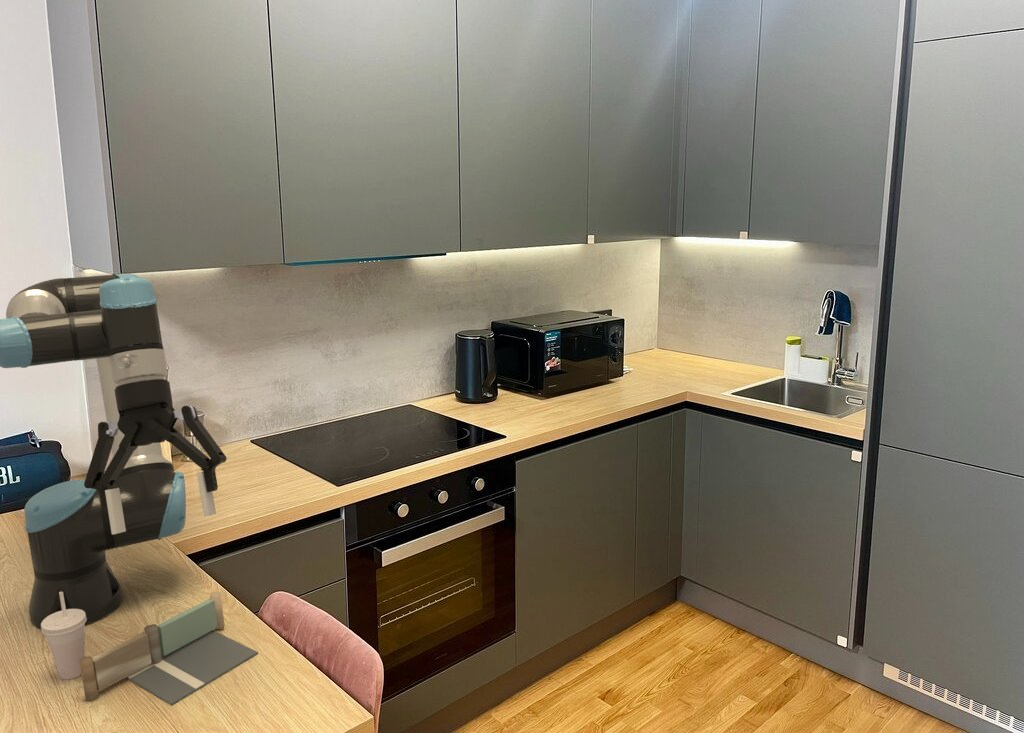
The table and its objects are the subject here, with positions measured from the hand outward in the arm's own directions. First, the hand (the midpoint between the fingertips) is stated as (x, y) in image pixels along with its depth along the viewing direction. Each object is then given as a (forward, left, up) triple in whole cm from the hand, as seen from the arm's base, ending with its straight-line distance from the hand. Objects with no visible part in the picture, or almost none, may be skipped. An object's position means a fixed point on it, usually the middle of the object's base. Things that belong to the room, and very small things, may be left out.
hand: (164, 524), depth 120 cm
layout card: (-9, +5, -28) cm, 30 cm away
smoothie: (-20, -7, -28) cm, 35 cm away
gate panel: (-11, +9, -28) cm, 31 cm away
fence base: (-11, -4, -28) cm, 30 cm away
